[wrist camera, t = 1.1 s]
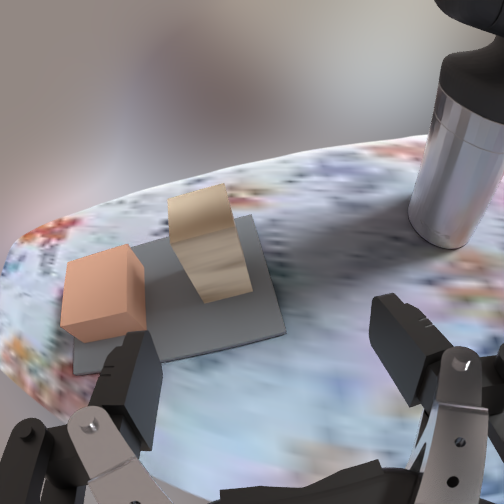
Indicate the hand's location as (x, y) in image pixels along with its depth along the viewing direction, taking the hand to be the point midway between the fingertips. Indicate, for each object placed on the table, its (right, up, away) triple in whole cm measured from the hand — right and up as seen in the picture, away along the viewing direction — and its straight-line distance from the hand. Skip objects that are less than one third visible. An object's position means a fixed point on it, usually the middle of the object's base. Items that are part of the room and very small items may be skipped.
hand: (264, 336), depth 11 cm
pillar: (-3, 0, +22) cm, 22 cm away
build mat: (-10, -2, +22) cm, 25 cm away
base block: (-16, -3, +22) cm, 27 cm away
